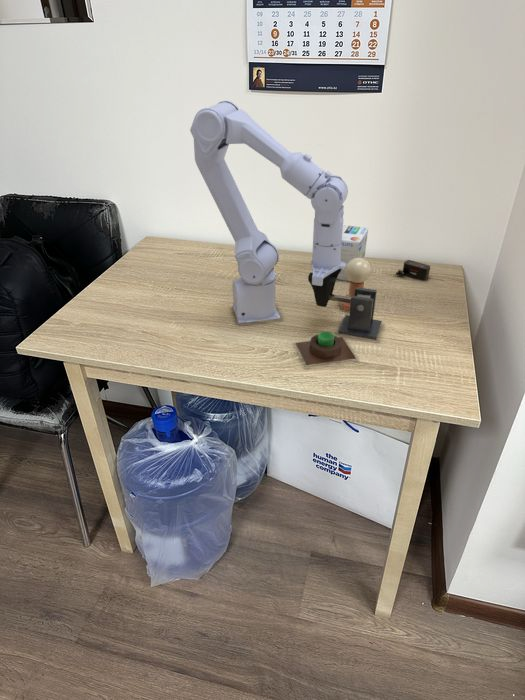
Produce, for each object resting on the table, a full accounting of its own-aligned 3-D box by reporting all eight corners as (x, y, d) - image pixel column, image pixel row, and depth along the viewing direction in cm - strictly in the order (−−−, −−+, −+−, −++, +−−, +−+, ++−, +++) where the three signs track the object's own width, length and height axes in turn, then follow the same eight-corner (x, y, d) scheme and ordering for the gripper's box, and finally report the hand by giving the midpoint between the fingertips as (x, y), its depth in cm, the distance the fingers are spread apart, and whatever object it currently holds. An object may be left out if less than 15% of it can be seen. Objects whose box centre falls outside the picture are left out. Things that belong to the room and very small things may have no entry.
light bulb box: (340, 262, 140) (343, 224, 134) (364, 266, 138) (369, 227, 132) (329, 278, 132) (332, 238, 126) (355, 282, 130) (359, 242, 124)
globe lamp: (345, 315, 117) (350, 266, 110) (336, 302, 122) (340, 254, 115) (372, 312, 118) (378, 263, 111) (362, 299, 123) (367, 251, 116)
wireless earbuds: (403, 270, 136) (405, 258, 134) (429, 277, 132) (431, 265, 130) (395, 276, 133) (396, 264, 131) (421, 283, 129) (423, 272, 127)
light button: (320, 348, 101) (320, 341, 100) (315, 340, 104) (315, 332, 103) (335, 346, 102) (336, 339, 101) (330, 338, 104) (331, 330, 103)
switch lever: (314, 304, 110) (314, 292, 108) (317, 298, 112) (318, 285, 111) (368, 312, 106) (369, 299, 105) (370, 305, 109) (371, 292, 107)
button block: (306, 367, 100) (307, 356, 99) (295, 345, 106) (296, 334, 105) (355, 360, 102) (356, 349, 100) (341, 339, 108) (342, 328, 107)
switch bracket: (338, 335, 110) (341, 298, 105) (345, 319, 115) (348, 283, 110) (376, 341, 107) (381, 304, 102) (381, 325, 113) (386, 289, 108)
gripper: (339, 257, 96) (334, 321, 104) (354, 231, 107) (349, 289, 115) (302, 253, 98) (300, 315, 106) (321, 227, 109) (318, 285, 117)
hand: (323, 301), depth 110 cm, fingers closed on switch lever, 3 cm apart
